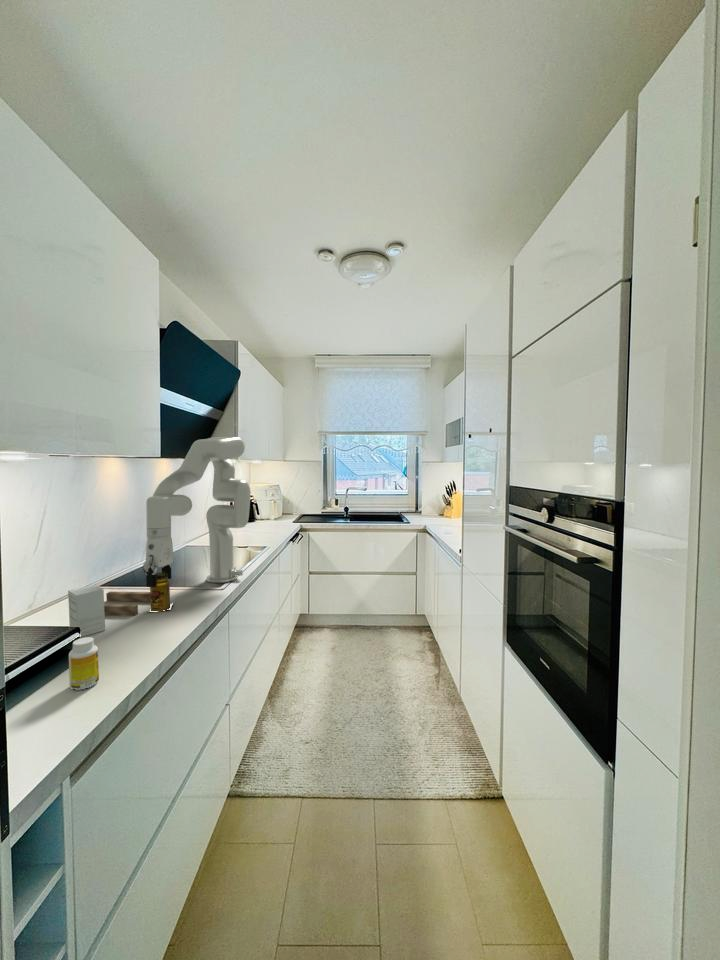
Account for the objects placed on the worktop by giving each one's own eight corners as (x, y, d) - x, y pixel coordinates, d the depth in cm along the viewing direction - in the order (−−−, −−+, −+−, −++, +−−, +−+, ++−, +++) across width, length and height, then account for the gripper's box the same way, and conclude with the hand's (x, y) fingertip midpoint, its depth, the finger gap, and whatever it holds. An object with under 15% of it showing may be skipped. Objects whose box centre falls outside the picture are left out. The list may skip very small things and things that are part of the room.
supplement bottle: (102, 684, 96) (100, 640, 96) (73, 694, 92) (71, 648, 91) (95, 675, 100) (93, 633, 99) (67, 685, 96) (65, 641, 95)
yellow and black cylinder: (147, 613, 140) (146, 577, 139) (151, 605, 148) (150, 571, 147) (171, 611, 142) (170, 576, 142) (174, 603, 150) (173, 569, 150)
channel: (158, 600, 153) (158, 592, 153) (134, 615, 138) (134, 606, 138) (110, 599, 154) (109, 591, 154) (81, 614, 139) (80, 605, 139)
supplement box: (96, 624, 131) (95, 584, 130) (105, 630, 126) (104, 588, 125) (69, 631, 125) (67, 589, 125) (77, 638, 121) (75, 595, 120)
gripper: (156, 536, 135) (156, 590, 135) (181, 529, 152) (181, 576, 153) (133, 536, 135) (133, 589, 136) (161, 528, 152) (161, 576, 153)
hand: (159, 582), depth 144 cm, fingers open, 9 cm apart
